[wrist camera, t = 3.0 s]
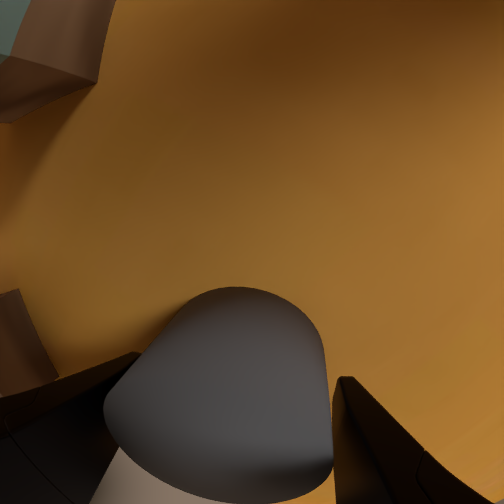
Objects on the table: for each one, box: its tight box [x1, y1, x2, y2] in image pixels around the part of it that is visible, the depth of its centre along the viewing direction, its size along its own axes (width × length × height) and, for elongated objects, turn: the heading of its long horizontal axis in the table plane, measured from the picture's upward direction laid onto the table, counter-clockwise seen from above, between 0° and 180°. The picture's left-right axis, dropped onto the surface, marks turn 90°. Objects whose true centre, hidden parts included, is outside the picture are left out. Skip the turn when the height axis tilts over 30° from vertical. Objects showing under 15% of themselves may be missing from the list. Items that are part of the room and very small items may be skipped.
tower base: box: [0, 0, 116, 123], centre depth 5 cm, size 6×6×4 cm
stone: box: [103, 287, 334, 504], centre depth 6 cm, size 5×5×4 cm
